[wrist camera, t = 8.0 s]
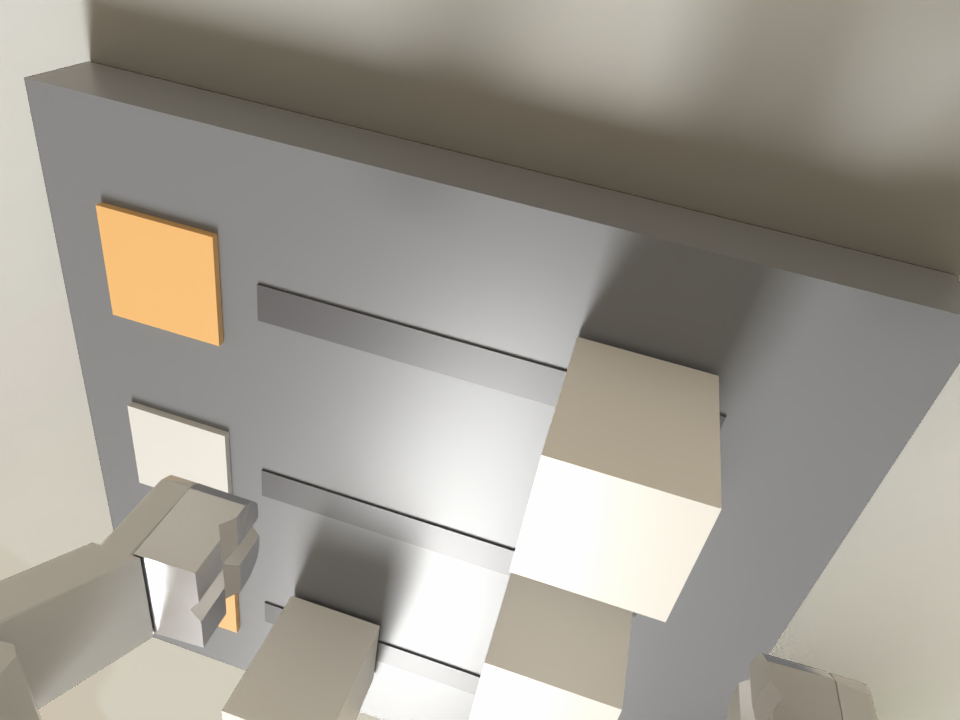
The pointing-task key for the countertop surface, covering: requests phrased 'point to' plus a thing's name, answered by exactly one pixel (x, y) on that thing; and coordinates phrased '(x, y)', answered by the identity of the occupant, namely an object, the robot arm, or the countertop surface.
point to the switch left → (308, 667)
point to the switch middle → (553, 657)
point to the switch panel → (455, 371)
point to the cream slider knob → (624, 480)
